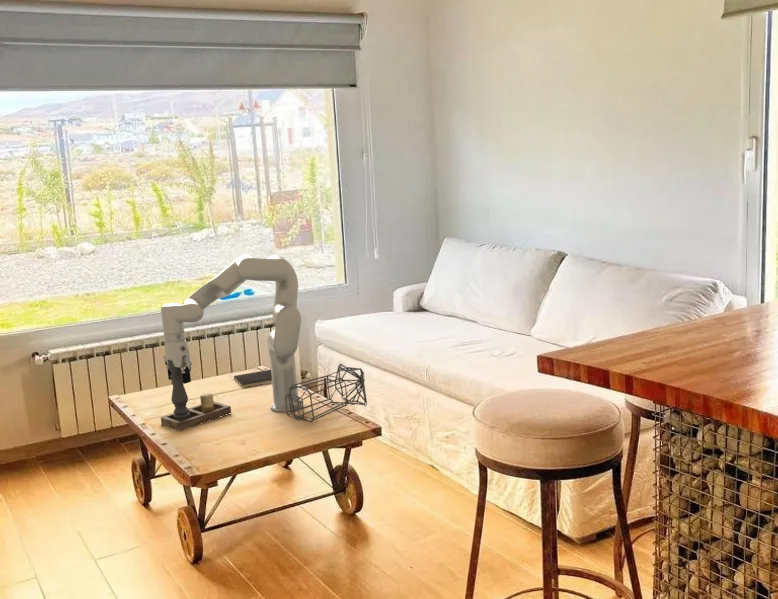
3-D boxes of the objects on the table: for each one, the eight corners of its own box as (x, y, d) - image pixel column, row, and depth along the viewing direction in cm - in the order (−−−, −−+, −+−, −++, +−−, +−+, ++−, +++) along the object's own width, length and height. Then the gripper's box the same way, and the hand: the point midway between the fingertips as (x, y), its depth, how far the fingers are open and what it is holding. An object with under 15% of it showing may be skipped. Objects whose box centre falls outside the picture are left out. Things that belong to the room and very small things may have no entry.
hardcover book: (294, 380, 378) (293, 375, 378) (242, 389, 370) (241, 384, 369) (284, 371, 393) (283, 366, 392) (234, 380, 384) (233, 375, 384)
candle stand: (231, 413, 337) (229, 393, 335) (179, 431, 320) (177, 410, 319) (212, 408, 345) (210, 388, 344) (161, 424, 329) (159, 404, 327)
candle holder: (186, 418, 334) (179, 356, 329) (193, 422, 329) (186, 359, 324) (171, 422, 330) (164, 359, 326) (178, 426, 326) (170, 362, 321)
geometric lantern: (300, 391, 311) (374, 364, 333) (276, 383, 323) (348, 359, 345) (306, 432, 314) (378, 403, 337) (281, 423, 326) (353, 396, 348)
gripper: (196, 337, 319) (201, 381, 322) (170, 331, 331) (175, 374, 334) (178, 341, 314) (184, 387, 317) (153, 336, 326) (158, 379, 329)
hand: (179, 380), depth 326 cm, fingers open, 9 cm apart
